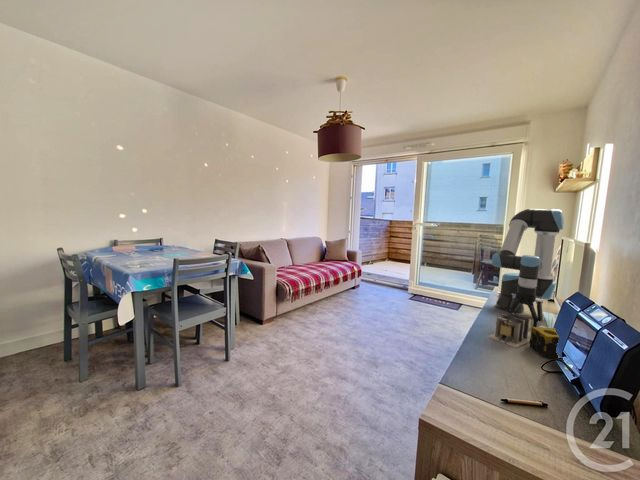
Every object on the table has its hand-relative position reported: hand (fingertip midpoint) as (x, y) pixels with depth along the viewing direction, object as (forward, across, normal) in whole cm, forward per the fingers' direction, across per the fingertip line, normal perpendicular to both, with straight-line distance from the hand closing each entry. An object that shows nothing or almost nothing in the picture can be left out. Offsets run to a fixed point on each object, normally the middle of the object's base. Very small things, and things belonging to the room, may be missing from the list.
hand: (521, 329), depth 141 cm
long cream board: (+2, 0, 0) cm, 2 cm away
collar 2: (+2, 0, -6) cm, 7 cm away
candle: (+3, +15, -12) cm, 20 cm away
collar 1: (+2, 0, -12) cm, 13 cm away
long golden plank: (-1, 0, -7) cm, 7 cm away
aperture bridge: (+2, 0, -16) cm, 17 cm away
